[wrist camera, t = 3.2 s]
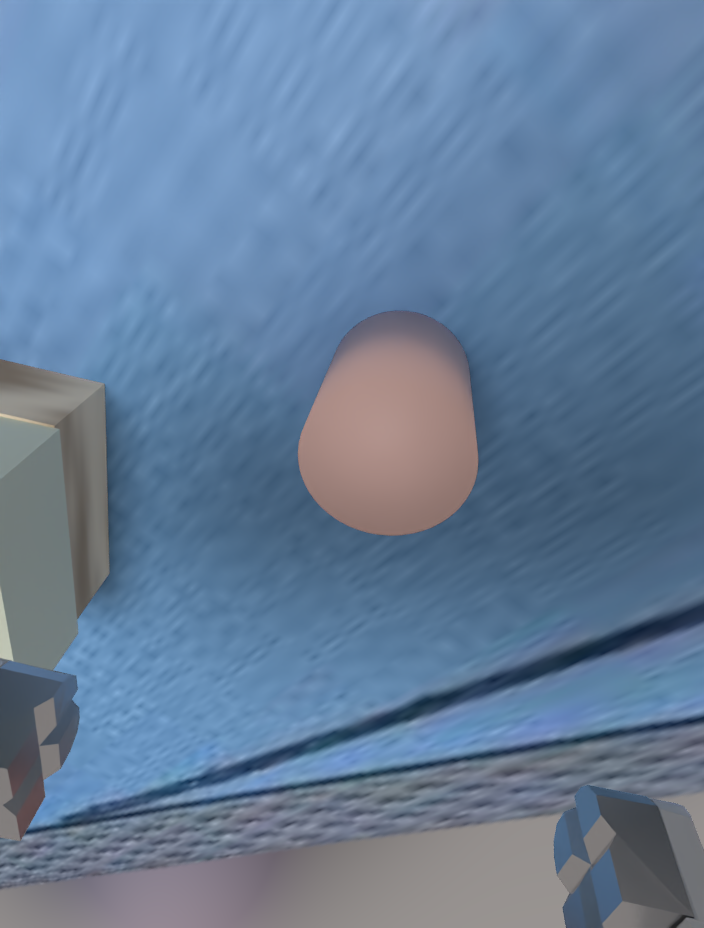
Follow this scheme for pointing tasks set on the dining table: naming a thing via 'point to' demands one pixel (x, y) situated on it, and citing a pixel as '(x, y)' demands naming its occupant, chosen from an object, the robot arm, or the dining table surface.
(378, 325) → the rose cylinder
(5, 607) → the tower top
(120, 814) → the dining table surface
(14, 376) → the tower base
